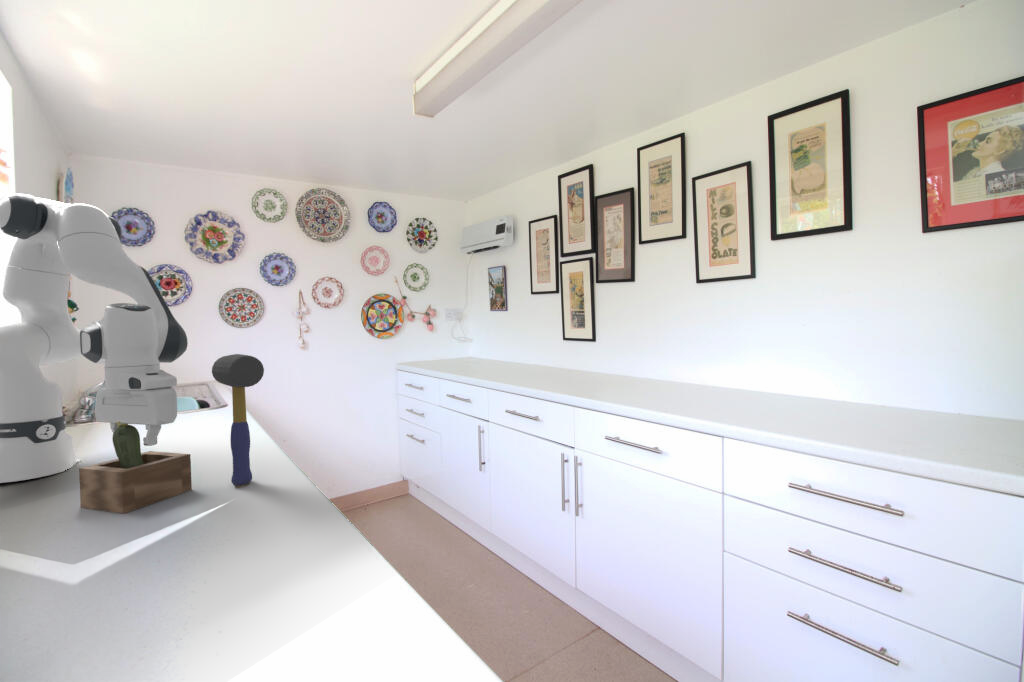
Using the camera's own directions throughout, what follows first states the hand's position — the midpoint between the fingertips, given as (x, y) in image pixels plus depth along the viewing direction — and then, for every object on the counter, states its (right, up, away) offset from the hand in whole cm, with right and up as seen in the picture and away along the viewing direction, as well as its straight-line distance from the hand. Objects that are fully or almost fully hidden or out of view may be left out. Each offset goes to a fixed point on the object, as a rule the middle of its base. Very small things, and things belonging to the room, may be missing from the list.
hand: (136, 444), depth 91 cm
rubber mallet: (+19, -11, +6) cm, 23 cm away
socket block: (0, -12, 0) cm, 12 cm away
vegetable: (+2, -12, -1) cm, 12 cm away
